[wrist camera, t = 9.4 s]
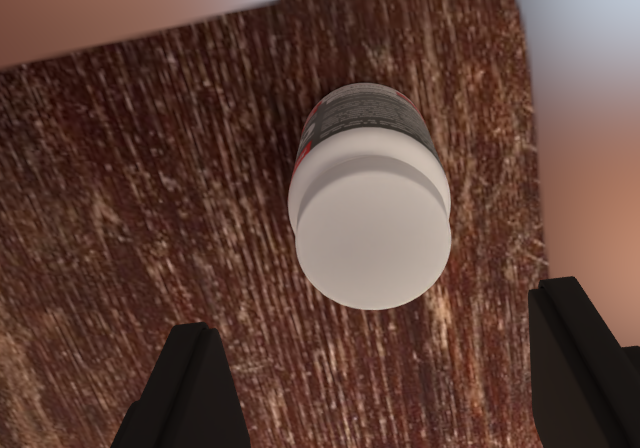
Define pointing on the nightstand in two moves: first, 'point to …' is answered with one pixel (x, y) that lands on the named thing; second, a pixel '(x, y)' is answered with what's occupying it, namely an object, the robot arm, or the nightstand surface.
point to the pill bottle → (369, 199)
